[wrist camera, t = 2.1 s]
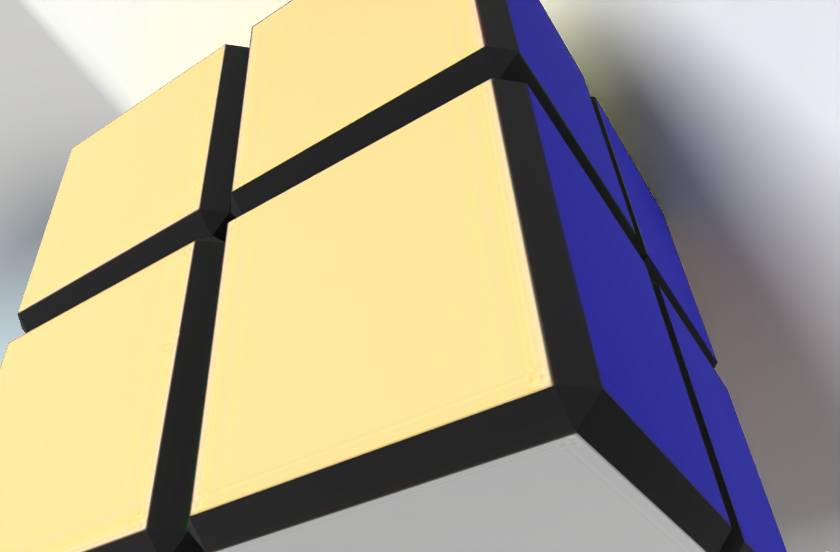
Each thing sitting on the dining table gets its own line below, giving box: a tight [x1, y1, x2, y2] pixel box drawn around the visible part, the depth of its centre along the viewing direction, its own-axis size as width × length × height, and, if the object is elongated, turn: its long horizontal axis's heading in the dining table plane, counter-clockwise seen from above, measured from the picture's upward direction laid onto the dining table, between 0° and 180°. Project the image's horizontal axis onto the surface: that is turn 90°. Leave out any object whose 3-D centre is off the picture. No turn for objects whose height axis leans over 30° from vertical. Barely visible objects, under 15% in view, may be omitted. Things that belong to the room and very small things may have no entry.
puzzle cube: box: [0, 0, 787, 552], centre depth 15 cm, size 10×10×10 cm
